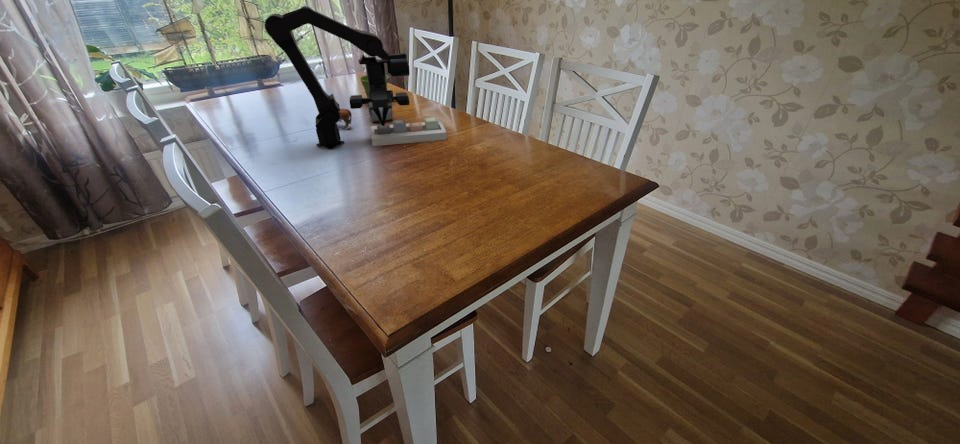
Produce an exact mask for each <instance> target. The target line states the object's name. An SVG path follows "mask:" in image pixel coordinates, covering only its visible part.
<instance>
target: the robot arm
mask: <svg viewBox="0 0 960 444" xmlns="http://www.w3.org/2000/svg"><path fill="white" fill-rule="evenodd" d="M264 21H265V22H264V29H265V31H266V33H267V35H268V36H269V37H270V38H271V39H272V41H273V42H274V43H275V44H276V45H277V46H278V47H279V48H280V49H281V50H282V51H283V52H284V53H285V54H286V57H287V58H288V59H289V61H290V62H291V64H292V66H293V67H294V69H295V70H296V72H297V74H298V75H299V77H300V79H301V81H302V82H303V83H304V85H305V87H306V88H307V90H308V92H309V93H310V94H311V97H312V98H313V101H314V103H315V106H316V109H317V111H318V113H317V115H316V116H315V131H316V136H317V140H318V143H316V145H315V146H316V147H319V148H323V149H328V150H333V149H335V148H336V147H338V146H341V145H343V144H345V141H344V140H341V134H340V129H339V128H338V124H337V123H338V122H339V119H340V113H339V111H340V109H341V107H340V104H339V102H337V101H336V99H335V95H334V93H331V94H328V93H327V92H326V91H325V89H324V88H323V86H322V84H321V83H320V81H319V79H318V78H317V76H316V74H315V73H314V71H313V70H312V68H311V66H310V65H309V63H308V61H307V60H306V57H305V55H304V54H303V52H302V51H301V49H300V48H299V45H298V43H297V40H296V38H295V34H294V30H296V29H299V28H300V27H303V26H306V25H307V24H309V25H311V26H313V27H316V28H317V29H320V30H322V31H324V32H327V33H329V34H331V35H333V36H335V37H338V38H339V39H342V40H343V41H347V42H348V43H351V44H352V45H353V46H355V47H356V48H357V49H359V50H360V51H361V52H364V53H365V54H366V55H368V56H367V57H366V56H365V55H364V54H361V56H360V58H359V59H358V60H357V61H358V64H359V65H364V66H365V71H366V75H367V79H368V86H369V95H370V98H367V97H363V95H362V94H355V95H353V94H352V95H350V96H349V99H348V100H349V106H350V109H353V110H355V109H357V110H358V109H362V107H363V105H367V106H368V105H369V109H370V110H373V111H374V112H375V113H376V115H377V117H378V119H379V121H378V122H379V123H380V125H382V126H385V125H386V121H387V120H386V116H387V113H388V110H389V109H391V108H392V109H393V103H397V104H398V105H399V106H409V105H410V97H409V94H408V93H407V92H395V95H394V93H393V89H392V90H391V89H390V90H388V82H387V83H386V75H390V77H391V78H398V77H409V76H410V65H409V61H408V58H407V53H405V52H400V53H390V54H389V52H388V51H387V50H385V49H384V46H383V42H382V40H381V39H380V38H379V36H377V35H376V34H375V33H374V32H373V33H372V32H368V31H366V30H361V29H357V28H353V27H350V26H348V25H346V24H344V23H342V22H340V21H337V20H335V19H333V18H331V17H330V16H327V15H325V14H323V13H321V12H319V11H316V10H314V9H312V8H311V7H310V6H308V5H303V6H301V7H300V8H298V9H295V10H292V11H289V12H287V13H283V14H281V13H272V14H270V15H268V17H267V18H266V20H264ZM377 57H378V58H379V59H378V58H377ZM386 73H387V74H386ZM379 108H382V116H383V120H382V117H381V113H380V109H379ZM369 109H368V110H369Z"/></svg>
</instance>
